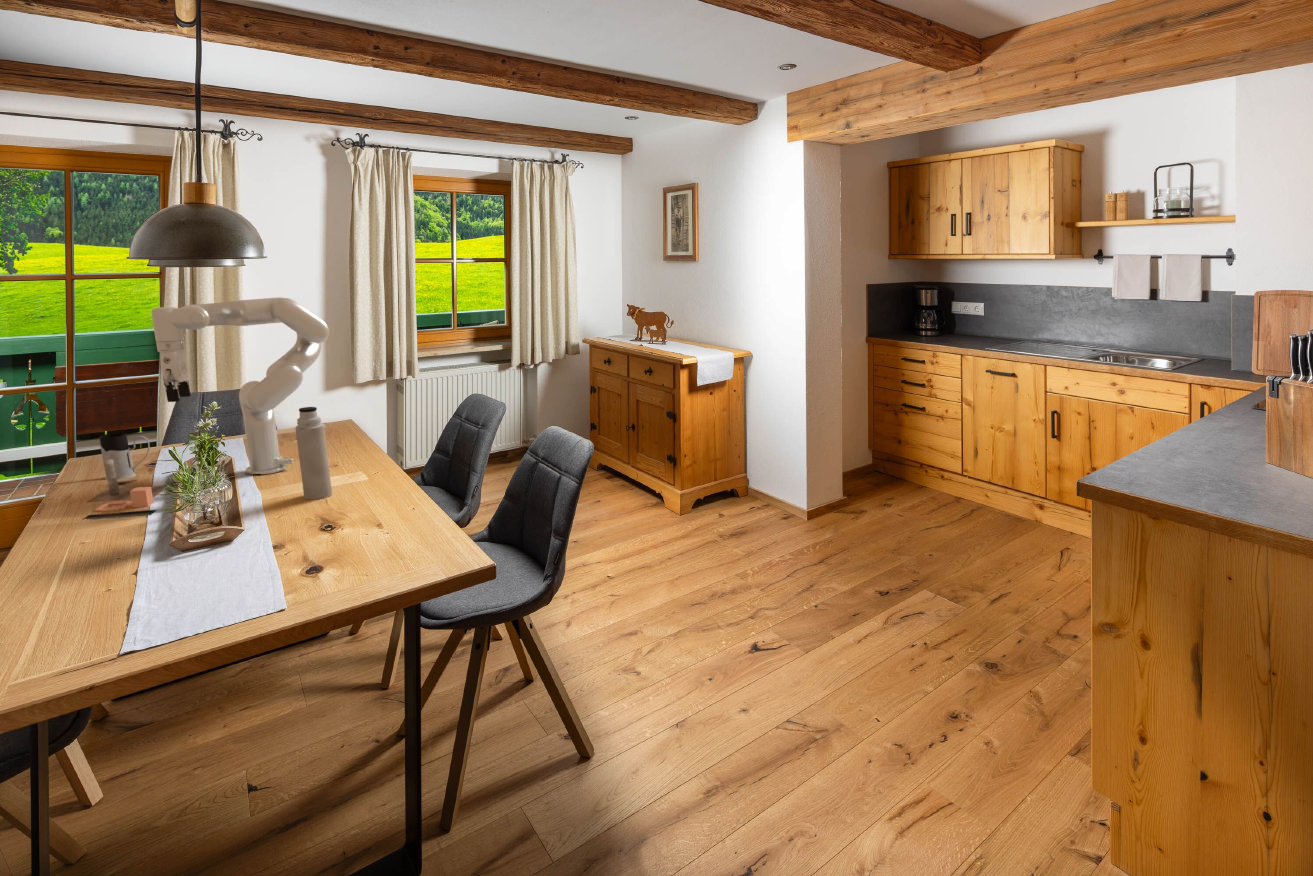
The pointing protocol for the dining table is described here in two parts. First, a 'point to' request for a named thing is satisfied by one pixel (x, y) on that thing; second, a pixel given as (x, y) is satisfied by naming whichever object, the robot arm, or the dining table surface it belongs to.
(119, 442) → the grey mug
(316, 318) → the robot arm
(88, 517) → the slate mat
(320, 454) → the thermos bottle
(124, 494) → the stand
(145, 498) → the pink l-shaped piece
